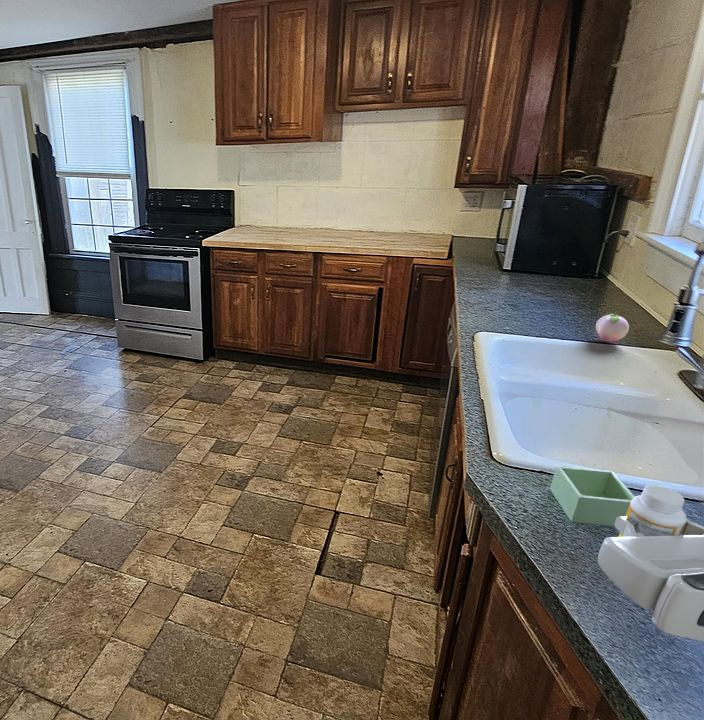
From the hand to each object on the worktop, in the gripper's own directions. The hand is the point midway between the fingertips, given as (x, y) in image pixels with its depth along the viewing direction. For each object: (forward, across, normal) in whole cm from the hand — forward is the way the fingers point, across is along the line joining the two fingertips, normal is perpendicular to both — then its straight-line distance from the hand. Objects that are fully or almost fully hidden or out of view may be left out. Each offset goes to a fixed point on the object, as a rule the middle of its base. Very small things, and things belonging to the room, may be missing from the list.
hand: (646, 519), depth 68 cm
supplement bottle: (-1, 0, +6) cm, 6 cm away
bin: (+20, -10, +14) cm, 26 cm away
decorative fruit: (+101, -73, +15) cm, 125 cm away
